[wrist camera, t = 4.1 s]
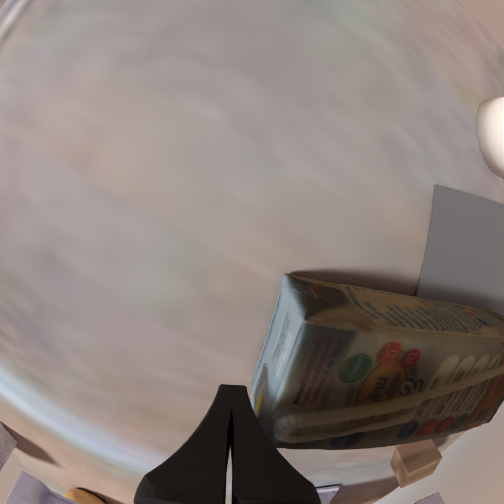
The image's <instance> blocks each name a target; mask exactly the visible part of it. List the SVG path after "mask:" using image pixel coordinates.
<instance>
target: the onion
mask: <svg viewBox="0 0 504 504" xmlns="http://www.w3.org/2000/svg"><path fill="white" fill-rule="evenodd" d="M63 497H65V498H68V499H70V500H72V501H74V502H77V503H79V504H106V503H105V502H104V501H102V500H101V499H99V498H98V497H96V496H95V495H93V494H92V495H91V493H88V492H86V491H83V490H80V489H70V490H68V491H66V492H65V494H64V496H63Z"/></svg>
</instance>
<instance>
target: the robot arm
mask: <svg viewBox="0 0 504 504" xmlns="http://www.w3.org/2000/svg"><path fill="white" fill-rule="evenodd" d="M230 445H231V459H232V504H330V500H331V499H332V498H333V497H334V495H335V494H336V493H337V491H338V490H339V486H331V487H324V488H317V489H316V488H315V486H314V485H313V483H311V482H310V481H309V480H307V479H306V478H305V477H304V476H302V475H301V474H300V473H299V472H298V471H297V470H296V469H294V468H293V467H292V466H291V465H290V464H289V463H288V461H287V460H286V459H285V458H284V457H283V456H282V455H281V454H280V453H279V451H278V450H277V449H276V448H275V446H274V445H273V444H272V442H271V441H270V439H269V438H268V436H267V435H266V433H265V432H264V430H263V428H262V426H261V425H260V423H259V421H258V419H257V417H256V415H255V412H254V410H253V408H252V405H251V403H250V400H249V397H248V393H247V387H246V386H244V385H225V384H221V385H220V386H219V388H218V392H217V394H216V397H215V399H214V401H213V403H212V405H211V407H210V409H209V410H208V412H207V414H206V416H205V417H204V419H203V420H202V422H201V423H200V425H199V426H198V428H197V429H196V430H195V432H194V433H193V434H192V435H191V436H190V438H189V439H188V440H187V441H186V442H185V443H184V444H183V445H182V446H181V447H180V448H179V449H178V450H177V451H176V452H175V453H174V454H173V455H172V456H171V457H169V458H168V459H167V460H166V461H164V462H163V463H162V464H161V465H159V466H158V467H156V468H155V469H153V470H152V471H150V472H149V473H147V474H146V475H145V476H144V477H143V479H142V480H141V482H140V484H139V486H138V488H137V491H136V494H135V498H134V501H133V502H134V504H225V498H226V473H227V464H228V458H229V451H230ZM5 504H79V503H77V502H74V501H72V500H70V499H68V498H65V497H63V496H61V495H59V494H57V493H55V492H53V491H51V490H49V488H48V487H47V486H46V485H45V484H44V483H43V482H41V481H40V480H38V479H36V478H35V477H33V476H31V475H29V474H28V473H26V472H24V471H21V473H20V475H19V476H18V478H17V480H16V482H15V484H14V486H13V488H12V489H11V491H10V493H9V495H8V497H7V499H6V501H5ZM414 504H445V503H444V501H443V499H442V497H441V495H440V493H435V494H433V495H431V496H428V497H426V498H424V499H421V500H419V501H417V502H416V503H414Z"/></svg>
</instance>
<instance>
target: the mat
mask: <svg viewBox="0 0 504 504" xmlns="http://www.w3.org/2000/svg"><path fill="white" fill-rule="evenodd" d="M415 297H421V298H426V299H433V300H438V301H445V302H448V303H454V304H461V305H466V306H471V307H477V308H482V309H487V310H490V311H493V312H497V313H498V314H500V315H502V316H503V317H504V205H503V204H500V203H497V202H494V201H491V200H488V199H485V198H482V197H478V196H475V195H472V194H468V193H465V192H461V191H458V190H454V189H451V188H447V187H443V186H439V185H435V187H434V197H433V206H432V213H431V221H430V227H429V234H428V239H427V245H426V250H425V255H424V260H423V265H422V270H421V274H420V278H419V283H418V287H417V291H416V295H415Z"/></svg>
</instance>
